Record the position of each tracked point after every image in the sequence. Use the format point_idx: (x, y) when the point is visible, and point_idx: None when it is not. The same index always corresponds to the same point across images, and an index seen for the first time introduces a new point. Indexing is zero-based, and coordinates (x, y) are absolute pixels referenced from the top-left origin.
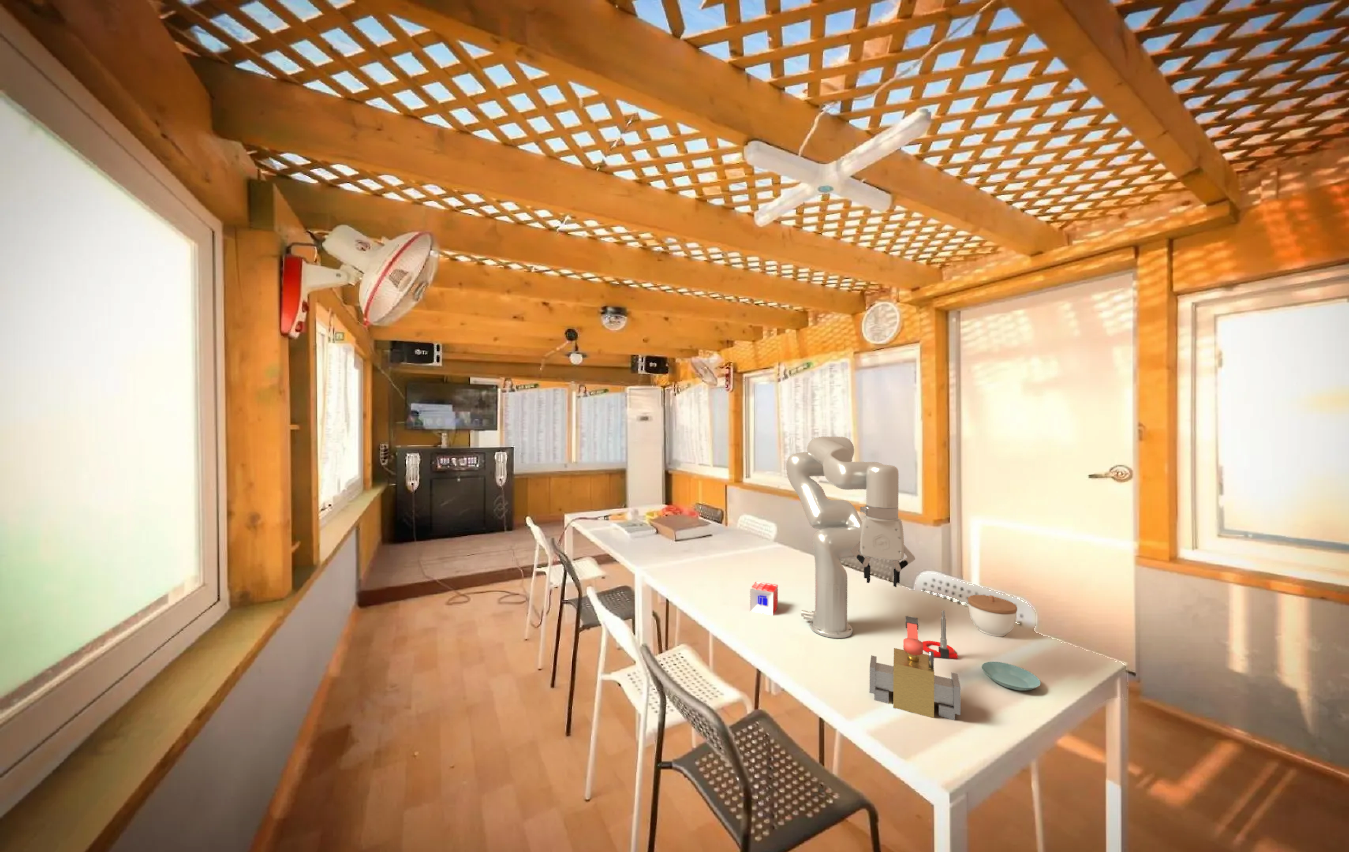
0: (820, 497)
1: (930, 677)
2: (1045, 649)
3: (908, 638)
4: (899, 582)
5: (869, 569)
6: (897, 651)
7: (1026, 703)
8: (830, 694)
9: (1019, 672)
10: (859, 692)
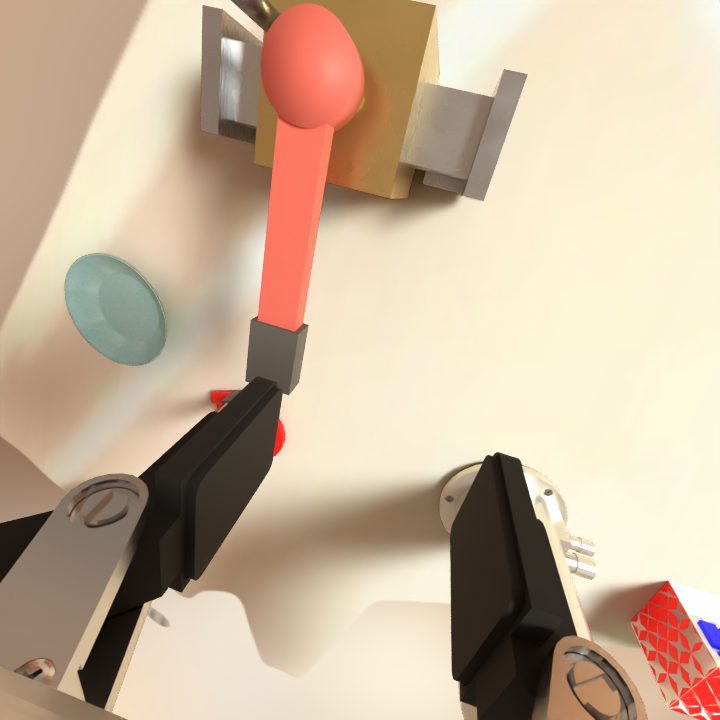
0: None
1: None
2: (61, 448)
3: (321, 117)
4: (215, 413)
5: (513, 582)
6: (383, 164)
7: (109, 215)
8: (649, 96)
9: (103, 338)
10: (527, 145)
